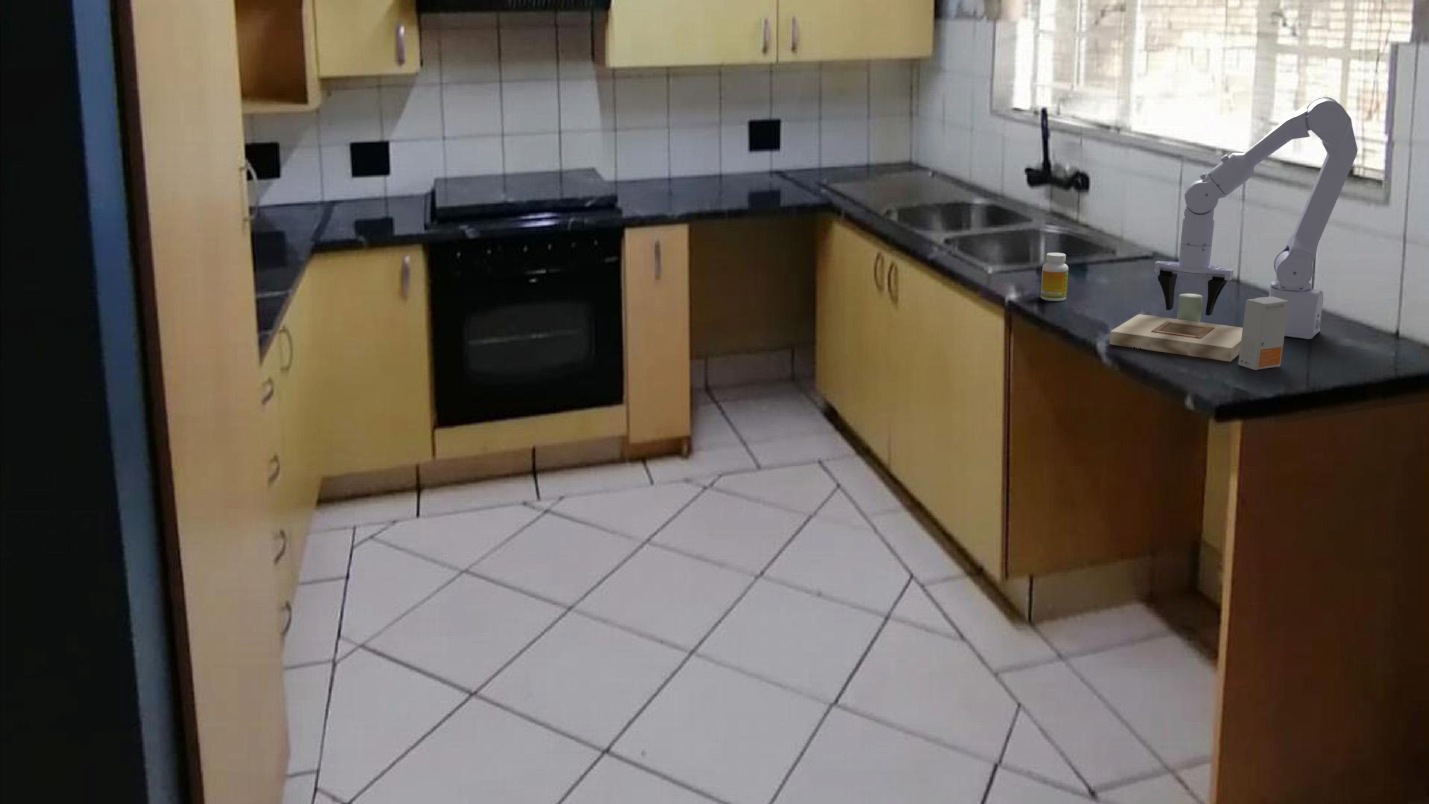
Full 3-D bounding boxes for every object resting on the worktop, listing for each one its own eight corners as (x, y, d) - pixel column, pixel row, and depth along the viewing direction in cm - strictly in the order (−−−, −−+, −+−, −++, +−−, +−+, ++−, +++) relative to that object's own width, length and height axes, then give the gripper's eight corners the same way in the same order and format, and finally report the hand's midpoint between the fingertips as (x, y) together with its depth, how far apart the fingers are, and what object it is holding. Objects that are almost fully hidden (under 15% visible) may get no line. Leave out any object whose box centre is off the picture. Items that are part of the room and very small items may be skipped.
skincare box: (1255, 371, 226) (1263, 304, 223) (1237, 365, 230) (1244, 299, 227) (1282, 366, 229) (1290, 300, 225) (1263, 361, 233) (1271, 295, 229)
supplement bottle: (1067, 301, 278) (1070, 256, 275) (1041, 301, 279) (1044, 256, 276) (1065, 296, 283) (1068, 252, 280) (1039, 295, 284) (1042, 251, 281)
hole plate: (1253, 342, 245) (1255, 328, 244) (1230, 361, 232) (1231, 347, 231) (1137, 326, 257) (1138, 313, 256) (1109, 344, 245) (1110, 330, 244)
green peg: (1202, 324, 258) (1205, 295, 256) (1195, 329, 254) (1199, 299, 252) (1180, 321, 260) (1183, 292, 258) (1173, 326, 257) (1176, 296, 255)
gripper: (1240, 244, 251) (1232, 312, 255) (1165, 236, 259) (1158, 303, 263) (1230, 250, 246) (1222, 319, 250) (1153, 242, 254) (1147, 309, 258)
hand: (1188, 311), depth 256 cm, fingers open, 7 cm apart
